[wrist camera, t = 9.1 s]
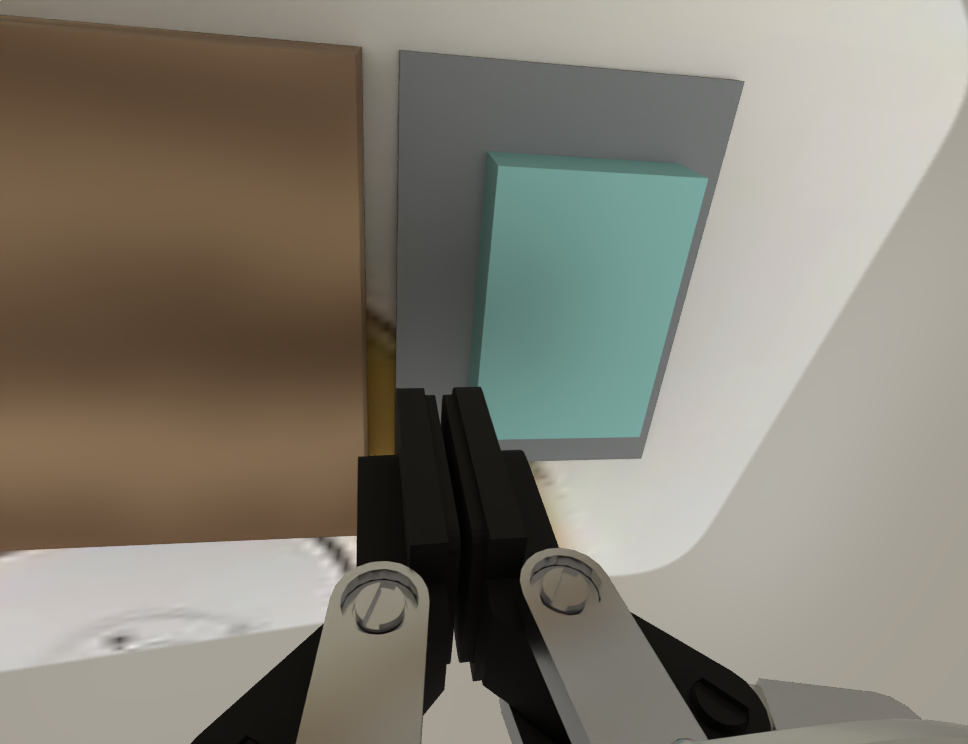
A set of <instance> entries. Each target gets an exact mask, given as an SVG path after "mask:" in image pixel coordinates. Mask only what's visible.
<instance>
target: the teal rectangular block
mask: <svg viewBox="0 0 968 744" xmlns="http://www.w3.org/2000/svg"><path fill="white" fill-rule="evenodd" d="M707 182H708V178H707V177H705V176H703V175H701V174H699V173H697V172H695V171H693V170H691V169H689V168H687V167H685V166H683V165H681V164H679V163H667V162H651V161H635V160H619V159H603V158H587V157H571V156H554V155H538V154H522V153H506V152H490V151H487V161H486V173H485V185H484V197H483V209H482V221H481V234H480V246H479V258H478V270H477V282H476V294H475V306H474V318H473V330H472V342H471V354H470V366H469V379H468V387H481V388H482V390H483V393H484V397H485V400H486V403H487V406H488V410H489V413H490V416H491V419H492V423H493V426H494V429H495V432H496V436H497V439H498V440H505V439H560V438H614V437H640V434H641V430H642V426H643V423H644V419H645V415H646V411H647V407H648V404H649V400H650V396H651V392H652V389H653V385H654V381H655V377H656V374H657V370H658V366H659V362H660V359H661V355H662V351H663V347H664V344H665V340H666V336H667V332H668V329H669V325H670V321H671V317H672V314H673V310H674V306H675V302H676V298H677V295H678V291H679V287H680V283H681V280H682V276H683V272H684V268H685V265H686V261H687V257H688V253H689V250H690V246H691V242H692V238H693V235H694V231H695V227H696V223H697V220H698V216H699V212H700V208H701V205H702V201H703V197H704V193H705V189H706V186H707Z"/></svg>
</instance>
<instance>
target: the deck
mask: <svg viewBox="0 0 968 744" xmlns="http://www.w3.org/2000/svg"><path fill="white" fill-rule="evenodd" d="M358 456H369V454H368V393H367V331H366V269H365V208H364V146H363V84H362V47H357V46H346V45H335V44H323V43H312V42H301V41H289V40H278V39H267V38H256V37H244V36H233V35H222V34H210V33H199V32H188V31H177V30H165V29H154V28H143V27H131V26H120V25H109V24H97V23H86V22H75V21H64V20H52V19H41V18H30V17H18V16H7V15H0V551H11V550H34V549H58V548H81V547H104V546H127V545H150V544H173V543H197V542H220V541H243V540H266V539H289V538H312V537H336V536H357V479H358Z"/></svg>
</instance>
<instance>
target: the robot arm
mask: <svg viewBox="0 0 968 744" xmlns="http://www.w3.org/2000/svg"><path fill="white" fill-rule="evenodd" d="M453 631H454V633H455V640H456V647H457V654H458V659H459V662H460V663H462V662H470V667H471V673H472V679H473V681H480V680H482V683H483V685H484V686H485V687H486V688H487V689H489V690H490V691H492V692H493V693H494V694H496V695H497V696H498V697H500V699H499V702H500V707H501V713H502V716H503V719H504V721H505V725H506V727H507V730H508V733H509V736H510V739H511V742H512V744H968V726H966V725H961V724H956V723H950V722H941V721H934V720H922V719H921V718H920V717H919V716H918V715H916V714H915V713H914V712H913V711H912V710H911V709H910V708H908V707H907V706H905V705H903V704H902V703H900V702H899V701H897V700H895V699H893V698H892V697H890V696H886V695H882V694H879V693H875V692H870V691H861V690H852V689H844V688H836V687H827V686H819V685H810V684H802V683H794V682H785V681H777V680H768V679H760V678H759V679H758V681H757V683H756V685H752V684H748V683H747V682H746V681H744V680H743V679H742V678H740V677H739V676H738V675H736V674H735V673H733V672H732V671H731V670H729V669H727V668H725V667H724V666H722V665H720V664H719V663H717V662H715V661H713V660H712V659H710V658H708V657H707V656H705V655H703V654H701V653H700V652H698V651H696V650H694V649H693V648H691V647H690V646H688V645H686V644H684V643H683V642H681V641H679V640H678V639H676V638H674V637H672V636H671V635H669V634H667V633H665V632H664V631H662V630H660V629H659V628H657V627H655V626H654V625H652V624H650V623H648V622H647V621H645V620H643V619H641V618H640V617H638V616H636V615H635V614H633V613H631V612H630V611H629V610H628V608H627V606H626V605H625V603H624V601H623V600H622V598H621V596H620V595H619V593H618V591H617V590H616V588H615V587H614V585H613V583H612V582H611V580H610V578H609V577H608V575H607V574H606V572H605V571H604V570H603V569H602V568H601V566H600V565H599V564H598V563H596V562H595V561H594V560H592V559H591V558H590V557H588V556H587V555H584V554H582V553H580V552H577V551H575V550H570V549H564V548H559V547H558V544H557V541H556V538H555V535H554V533H553V530H552V527H551V524H550V521H549V519H548V516H547V513H546V510H545V507H544V505H543V502H542V499H541V496H540V494H539V491H538V488H537V485H536V482H535V480H534V477H533V474H532V471H531V468H530V466H529V463H528V460H527V457H526V455H525V453H524V451H522V450H501V449H500V445H499V442H498V439H497V436H496V432H495V429H494V426H493V423H492V419H491V416H490V413H489V410H488V406H487V403H486V400H485V397H484V393H483V390H482V388H481V387H453V390H452V394H449V395H443V397H442V408H441V424H440V419H439V414H438V408H437V403H436V397H435V395H425V390H424V388H396V407H395V455H382V456H358V479H357V567H356V568H355V569H353V570H352V571H350V572H348V573H347V574H345V575H344V576H343V577H342V579H341V580H340V581H339V582H338V583H337V584H336V585H335V588H334V590H333V592H332V595H331V597H330V600H329V604H328V609H327V613H326V617H325V621H324V624H323V625H322V626H320V627H319V628H318V629H317V630H316V631H315V632H314V633H313V634H312V635H310V636H309V637H308V638H307V639H306V640H305V641H304V642H302V643H301V644H300V645H299V646H298V647H297V648H296V649H295V650H294V651H292V652H291V653H290V654H289V655H288V656H287V657H286V658H285V659H283V660H282V662H280V663H279V664H278V665H277V666H276V667H274V668H273V669H272V670H271V671H270V672H269V673H268V674H267V675H266V676H264V677H263V678H262V679H261V680H260V681H259V682H258V683H257V684H255V685H254V686H253V687H252V688H251V689H250V690H249V691H248V692H247V693H246V694H244V695H243V696H242V697H241V698H240V699H239V700H238V701H236V702H235V703H234V704H233V705H232V706H231V707H230V708H229V709H227V710H226V711H225V712H224V713H223V714H222V715H221V716H220V717H218V718H217V719H216V720H215V721H214V722H213V723H212V724H211V725H210V726H208V727H207V728H206V729H205V730H204V731H203V732H202V733H201V734H199V736H197V737H196V738H195V739H194V741H193V742H192V743H191V744H421V738H422V737H421V736H422V722H423V715H424V714H425V713H426V711H427V710H428V709H429V708H430V707H431V705H432V704H433V703H434V702H435V700H436V699H437V698H438V697H439V696H440V694H441V693H442V692H443V690H444V686H445V675H446V664H450V661H451V652H452V642H453Z"/></svg>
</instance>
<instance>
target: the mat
mask: <svg viewBox="0 0 968 744" xmlns="http://www.w3.org/2000/svg"><path fill="white" fill-rule="evenodd" d="M744 82H745V81H739V80H730V79H719V78H707V77H696V76H685V75H673V74H662V73H651V72H640V71H628V70H617V69H606V68H594V67H583V66H572V65H560V64H549V63H538V62H527V61H515V60H504V59H493V58H481V57H470V56H459V55H448V54H436V53H425V52H414V51H402V50H400V53H399V138H398V224H397V309H396V388H424V390H425V395H435V397H436V403H437V408H438V414H439V419H440V424H441V408H442V397H443V395H449V394H452V390H453V387H468V379H469V366H470V354H471V342H472V330H473V318H474V306H475V294H476V282H477V270H478V258H479V246H480V234H481V221H482V209H483V197H484V185H485V173H486V161H487V151H490V152H506V153H522V154H538V155H554V156H571V157H587V158H603V159H619V160H635V161H651V162H667V163H679V164H681V165H683V166H685V167H687V168H689V169H691V170H693V171H695V172H697V173H699V174H701V175H703V176H705V177H707V178H708V182H707V186H706V189H705V193H704V197H703V201H702V205H701V208H700V212H699V216H698V220H697V223H696V227H695V231H694V235H693V238H692V242H691V246H690V250H689V253H688V257H687V261H686V265H685V268H684V272H683V276H682V280H681V283H680V287H679V291H678V295H677V298H676V302H675V306H674V310H673V314H672V317H671V321H670V325H669V329H668V332H667V336H666V340H665V344H664V347H663V351H662V355H661V359H660V362H659V366H658V370H657V374H656V377H655V381H654V385H653V389H652V392H651V396H650V400H649V404H648V407H647V411H646V415H645V419H644V423H643V426H642V430H641V434H640V437H614V438H560V439H505V440H498V442H499V445H500V449H501V450H522V451H524V453H525V455H526V457H527V460H528V461H557V460H598V459H639V458H641V457H642V454H643V450H644V446H645V443H646V439H647V435H648V432H649V428H650V425H651V421H652V417H653V414H654V410H655V406H656V403H657V399H658V395H659V392H660V388H661V384H662V381H663V377H664V373H665V370H666V366H667V363H668V359H669V355H670V352H671V348H672V344H673V341H674V337H675V333H676V330H677V326H678V322H679V319H680V315H681V311H682V308H683V304H684V301H685V297H686V293H687V290H688V286H689V282H690V279H691V275H692V271H693V268H694V264H695V260H696V257H697V253H698V249H699V246H700V242H701V239H702V235H703V231H704V228H705V224H706V220H707V217H708V213H709V209H710V206H711V202H712V198H713V195H714V191H715V187H716V184H717V180H718V177H719V173H720V169H721V166H722V162H723V158H724V155H725V151H726V147H727V144H728V140H729V136H730V133H731V129H732V125H733V122H734V118H735V115H736V111H737V107H738V104H739V100H740V96H741V93H742V89H743V85H744ZM395 407H396V395H395Z"/></svg>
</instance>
